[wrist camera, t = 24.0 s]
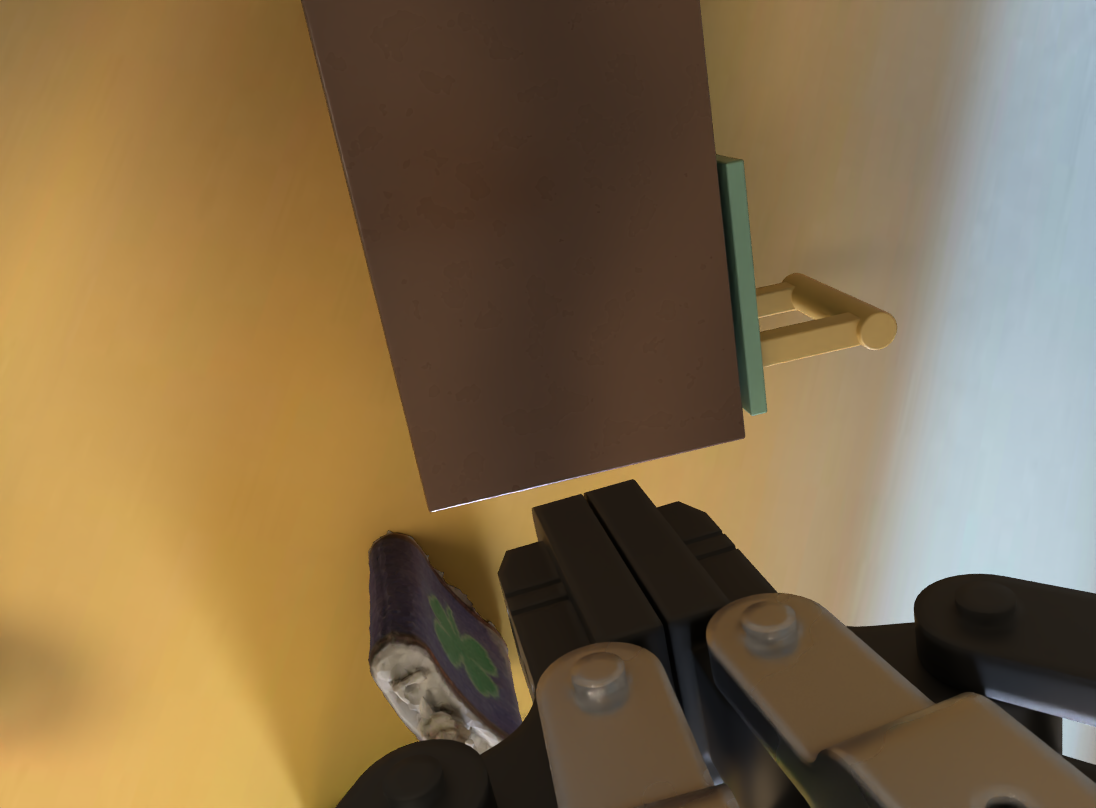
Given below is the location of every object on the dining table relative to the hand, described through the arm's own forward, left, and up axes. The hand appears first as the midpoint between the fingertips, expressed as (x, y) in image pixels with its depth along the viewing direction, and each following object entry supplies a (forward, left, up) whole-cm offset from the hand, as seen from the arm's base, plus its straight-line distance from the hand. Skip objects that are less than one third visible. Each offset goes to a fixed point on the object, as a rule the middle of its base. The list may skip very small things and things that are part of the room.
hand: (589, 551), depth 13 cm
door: (+10, +6, -26) cm, 28 cm away
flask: (+7, -16, -27) cm, 32 cm away
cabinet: (0, +3, -27) cm, 27 cm away
